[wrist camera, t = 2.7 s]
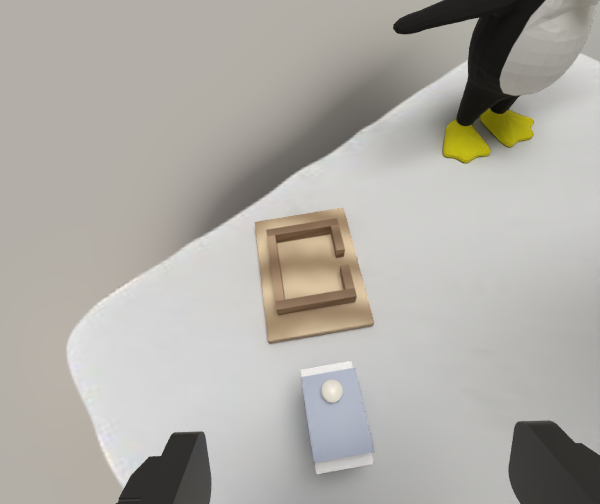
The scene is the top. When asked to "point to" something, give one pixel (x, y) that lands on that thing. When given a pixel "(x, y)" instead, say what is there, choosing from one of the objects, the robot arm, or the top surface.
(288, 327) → the wooden fixture board
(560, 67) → the toy
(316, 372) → the servo block
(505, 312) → the top surface
